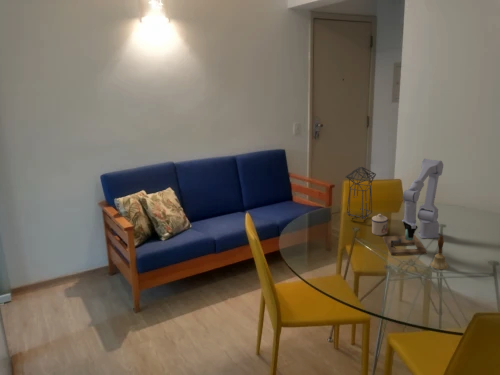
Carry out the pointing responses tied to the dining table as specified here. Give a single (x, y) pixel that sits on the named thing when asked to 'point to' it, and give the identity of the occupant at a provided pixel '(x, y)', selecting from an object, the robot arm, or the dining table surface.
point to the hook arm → (395, 241)
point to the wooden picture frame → (415, 242)
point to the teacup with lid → (379, 225)
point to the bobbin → (407, 235)
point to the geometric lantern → (361, 188)
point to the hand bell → (439, 257)
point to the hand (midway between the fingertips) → (409, 235)
